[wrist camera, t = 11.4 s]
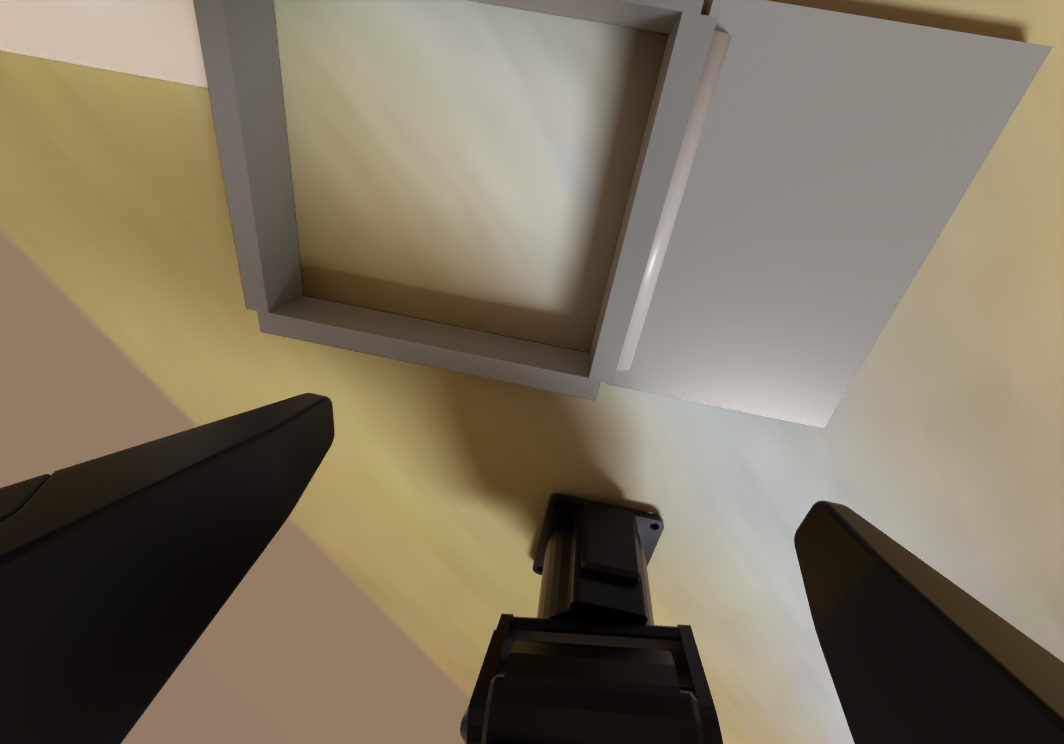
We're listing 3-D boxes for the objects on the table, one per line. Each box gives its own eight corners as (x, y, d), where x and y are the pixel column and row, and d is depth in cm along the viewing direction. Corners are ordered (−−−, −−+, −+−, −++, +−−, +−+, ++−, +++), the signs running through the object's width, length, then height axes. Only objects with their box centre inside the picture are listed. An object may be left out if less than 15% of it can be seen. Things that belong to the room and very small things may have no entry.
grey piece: (815, 418, 20) (843, 451, 18) (286, 311, 21) (249, 329, 19) (1028, 52, 13) (1115, 32, 11) (237, -77, 14) (171, -120, 12)
